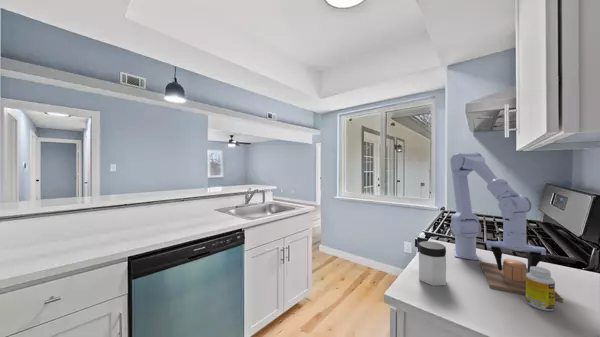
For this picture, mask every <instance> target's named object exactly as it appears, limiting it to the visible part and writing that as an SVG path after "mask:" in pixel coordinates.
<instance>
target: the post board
mask: <svg viewBox="0 0 600 337" xmlns="http://www.w3.org/2000/svg"><path fill="white" fill-rule="evenodd" d="M479 266H480V267H481V270H482V272H483V275H484V277H485V279H486V281H487V282H486V283H488V286H489V288H490V289H493V290H494V289H495V290H498V291H504V292H509V293H514V294H518V295H523V296H526V281H523V282H522V281H515V280H511V279H509V278H506V277H504V275H503V264H502V271H501V270H499V269H498V266H497V263H492V262H486V261H479ZM527 273H528V271H527ZM563 301H564V300H563V298H562V297H561V295H559V293H558V292H557V291H556V290H555V302H557V303H558V302H559V303H563Z"/></svg>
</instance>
